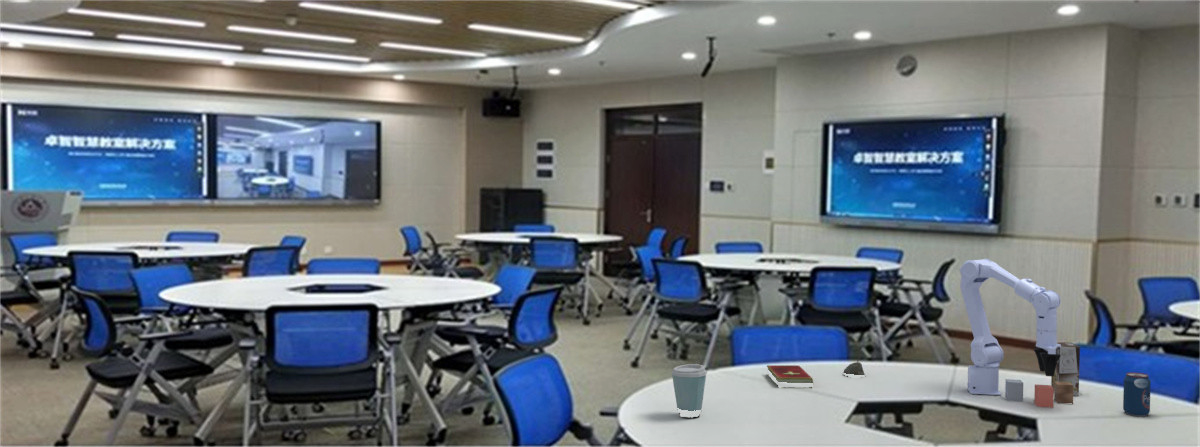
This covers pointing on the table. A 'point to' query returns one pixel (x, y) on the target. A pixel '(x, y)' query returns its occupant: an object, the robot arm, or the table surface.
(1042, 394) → the red block
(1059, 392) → the walnut block
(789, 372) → the hardcover book
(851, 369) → the sword in stone
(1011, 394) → the grey block
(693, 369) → the disposable coffee cup
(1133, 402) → the soda can
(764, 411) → the table surface
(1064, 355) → the coffee box
